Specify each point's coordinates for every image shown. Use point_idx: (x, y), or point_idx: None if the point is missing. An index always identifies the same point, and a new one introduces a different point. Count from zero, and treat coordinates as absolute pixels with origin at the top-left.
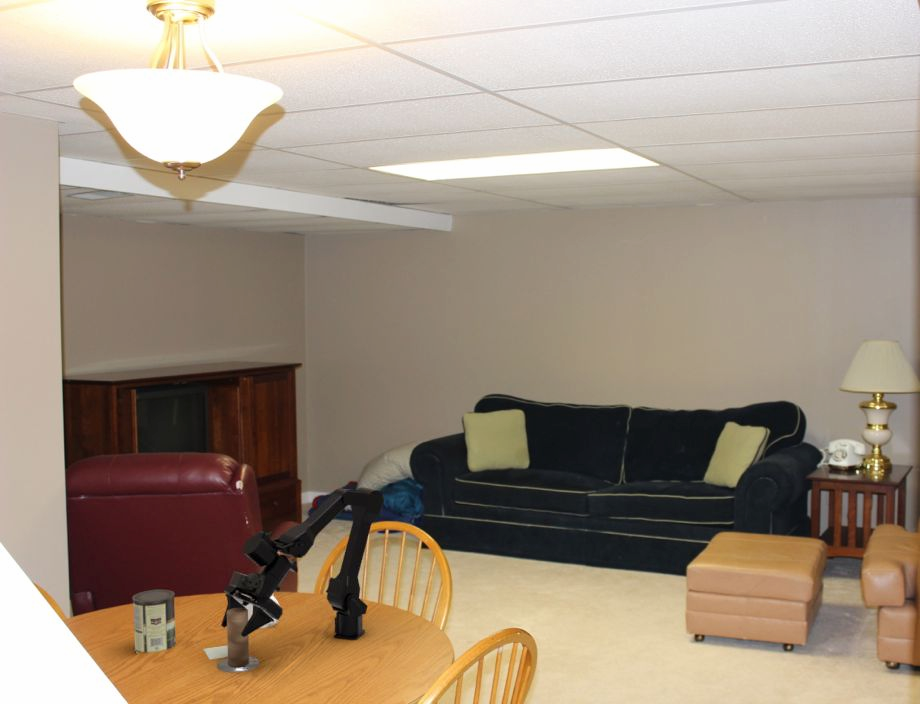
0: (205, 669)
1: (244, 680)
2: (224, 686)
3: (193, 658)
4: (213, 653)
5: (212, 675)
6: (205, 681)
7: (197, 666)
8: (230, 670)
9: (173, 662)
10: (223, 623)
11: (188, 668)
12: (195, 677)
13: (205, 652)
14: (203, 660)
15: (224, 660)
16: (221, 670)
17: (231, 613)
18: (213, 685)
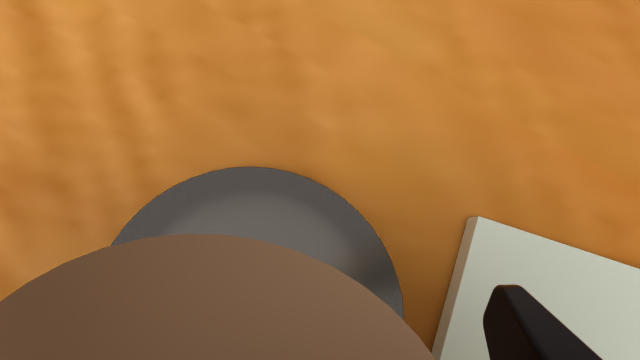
0: (394, 145)
1: (25, 235)
2: (38, 83)
3: (622, 186)
4: (569, 297)
5: (267, 125)
6: (208, 41)
7: (477, 134)
8: (171, 209)
9: (637, 61)
10: (509, 315)
11: (483, 77)
12: (315, 32)
13: (622, 263)
14: (548, 216)
15: (377, 277)
16: (229, 168)
17: (123, 301)
18: (109, 43)
